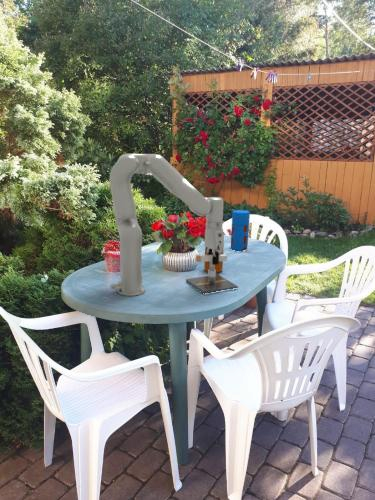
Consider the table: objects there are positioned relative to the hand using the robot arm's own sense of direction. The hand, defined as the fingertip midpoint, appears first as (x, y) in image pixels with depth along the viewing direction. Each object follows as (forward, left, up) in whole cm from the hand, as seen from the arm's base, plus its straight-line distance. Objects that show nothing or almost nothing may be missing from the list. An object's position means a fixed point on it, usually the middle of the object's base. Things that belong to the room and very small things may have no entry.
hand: (212, 262), depth 175 cm
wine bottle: (+12, +19, -12) cm, 25 cm away
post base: (0, 0, -11) cm, 11 cm away
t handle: (-1, 0, -3) cm, 3 cm away
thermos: (+49, +50, -12) cm, 71 cm away
